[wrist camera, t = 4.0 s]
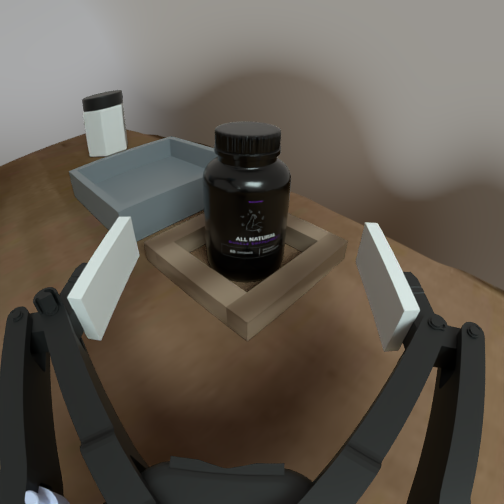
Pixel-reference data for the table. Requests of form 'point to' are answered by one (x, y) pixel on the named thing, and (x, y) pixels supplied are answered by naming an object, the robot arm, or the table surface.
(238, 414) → the table surface
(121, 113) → the jar
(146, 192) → the bin
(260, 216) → the supplement bottle
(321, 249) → the socket collar
